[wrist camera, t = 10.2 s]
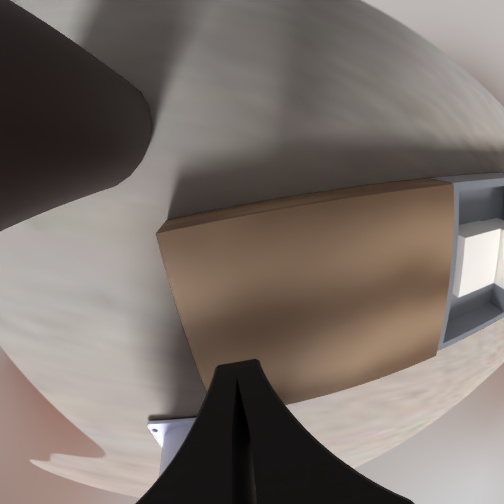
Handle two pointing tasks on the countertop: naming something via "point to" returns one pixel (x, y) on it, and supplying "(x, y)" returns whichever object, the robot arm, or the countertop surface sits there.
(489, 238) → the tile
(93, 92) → the bottle
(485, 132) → the countertop surface
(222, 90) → the countertop surface
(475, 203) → the box
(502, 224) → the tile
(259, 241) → the walnut board
